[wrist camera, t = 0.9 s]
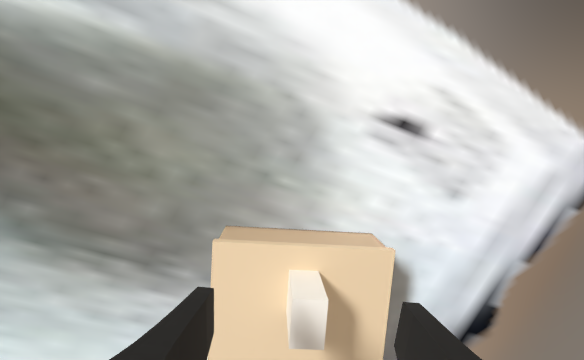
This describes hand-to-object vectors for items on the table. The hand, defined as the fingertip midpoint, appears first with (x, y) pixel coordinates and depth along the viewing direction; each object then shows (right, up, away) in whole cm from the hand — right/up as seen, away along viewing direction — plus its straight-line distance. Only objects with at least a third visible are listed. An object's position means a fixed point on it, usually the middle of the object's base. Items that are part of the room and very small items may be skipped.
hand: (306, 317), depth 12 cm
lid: (0, -6, +11) cm, 13 cm away
